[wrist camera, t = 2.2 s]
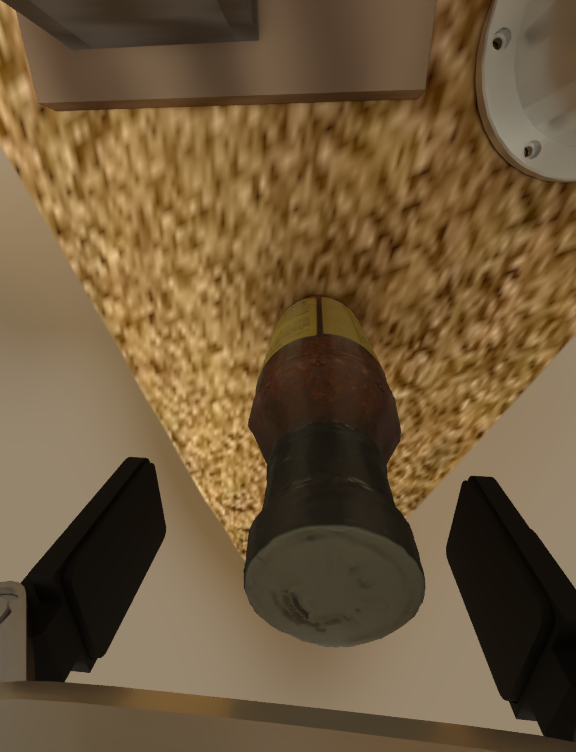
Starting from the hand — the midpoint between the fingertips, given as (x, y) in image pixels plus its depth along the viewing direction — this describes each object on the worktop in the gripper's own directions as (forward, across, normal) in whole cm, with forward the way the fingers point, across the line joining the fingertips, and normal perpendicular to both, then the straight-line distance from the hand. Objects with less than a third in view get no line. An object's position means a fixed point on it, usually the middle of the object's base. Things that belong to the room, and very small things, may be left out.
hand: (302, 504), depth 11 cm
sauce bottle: (+17, 0, -1) cm, 17 cm away
